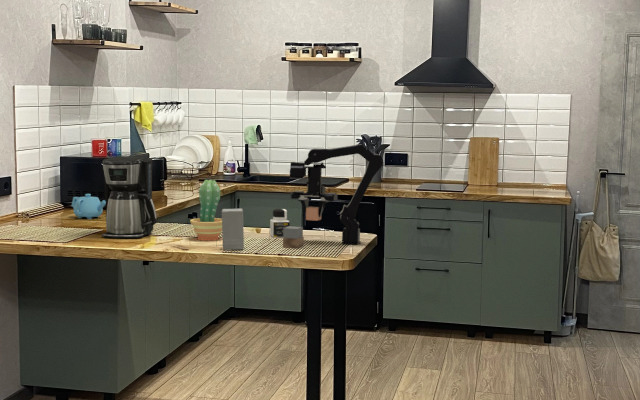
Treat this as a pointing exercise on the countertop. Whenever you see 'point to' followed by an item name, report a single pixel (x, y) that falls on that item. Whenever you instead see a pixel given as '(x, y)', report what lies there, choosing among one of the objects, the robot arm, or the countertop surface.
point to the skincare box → (232, 229)
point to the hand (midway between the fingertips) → (313, 216)
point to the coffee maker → (128, 197)
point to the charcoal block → (293, 232)
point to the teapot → (87, 206)
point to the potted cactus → (208, 212)
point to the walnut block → (293, 242)
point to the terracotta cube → (312, 213)
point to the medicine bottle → (278, 223)
